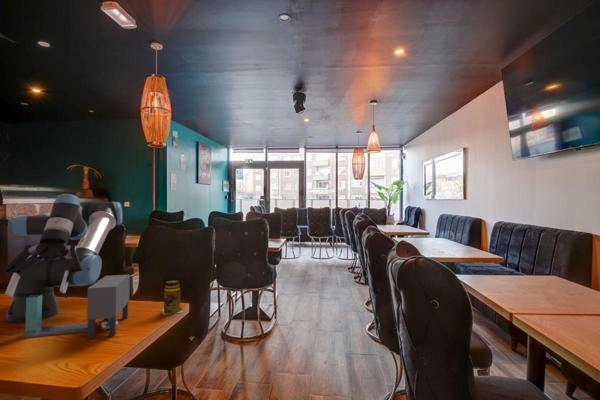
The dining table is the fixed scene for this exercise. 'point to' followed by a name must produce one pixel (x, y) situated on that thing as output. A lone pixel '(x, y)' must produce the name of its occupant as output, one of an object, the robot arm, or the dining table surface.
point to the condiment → (172, 298)
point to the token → (107, 325)
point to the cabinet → (108, 301)
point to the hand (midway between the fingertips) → (36, 293)
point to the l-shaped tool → (35, 321)
